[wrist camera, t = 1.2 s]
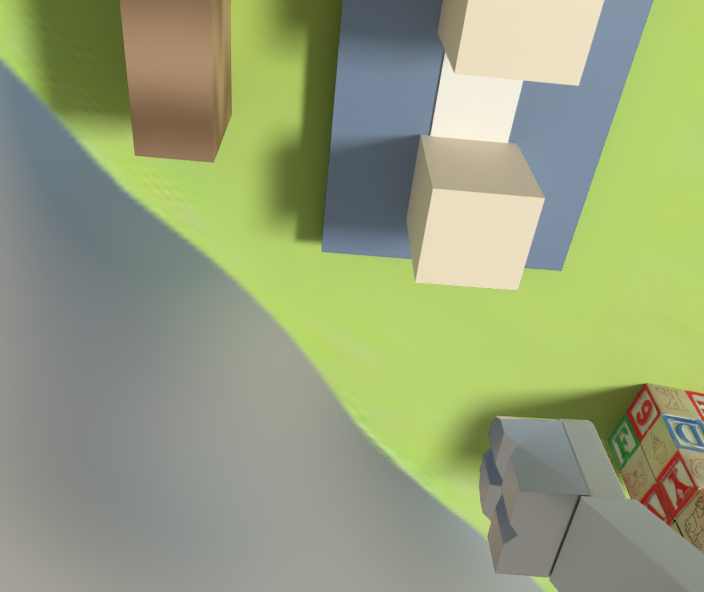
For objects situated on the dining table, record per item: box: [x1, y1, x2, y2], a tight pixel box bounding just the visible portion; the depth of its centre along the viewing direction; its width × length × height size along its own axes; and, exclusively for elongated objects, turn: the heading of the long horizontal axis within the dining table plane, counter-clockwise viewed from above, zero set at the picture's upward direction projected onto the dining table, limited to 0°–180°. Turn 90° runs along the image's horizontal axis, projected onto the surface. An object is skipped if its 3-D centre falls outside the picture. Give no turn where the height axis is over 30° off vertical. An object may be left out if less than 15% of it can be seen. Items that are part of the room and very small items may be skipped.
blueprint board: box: [322, 0, 653, 290], centre depth 31 cm, size 20×14×8 cm
